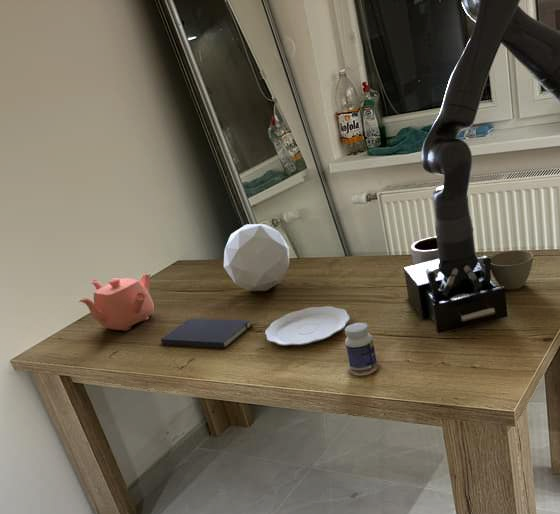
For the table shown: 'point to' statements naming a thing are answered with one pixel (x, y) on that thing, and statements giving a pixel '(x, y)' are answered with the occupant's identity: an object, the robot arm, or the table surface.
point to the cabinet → (423, 283)
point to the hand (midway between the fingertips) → (462, 306)
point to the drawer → (465, 305)
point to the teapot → (121, 302)
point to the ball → (256, 257)
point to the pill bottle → (360, 349)
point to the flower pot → (511, 268)
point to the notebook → (206, 332)
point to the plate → (307, 325)
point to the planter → (425, 250)
